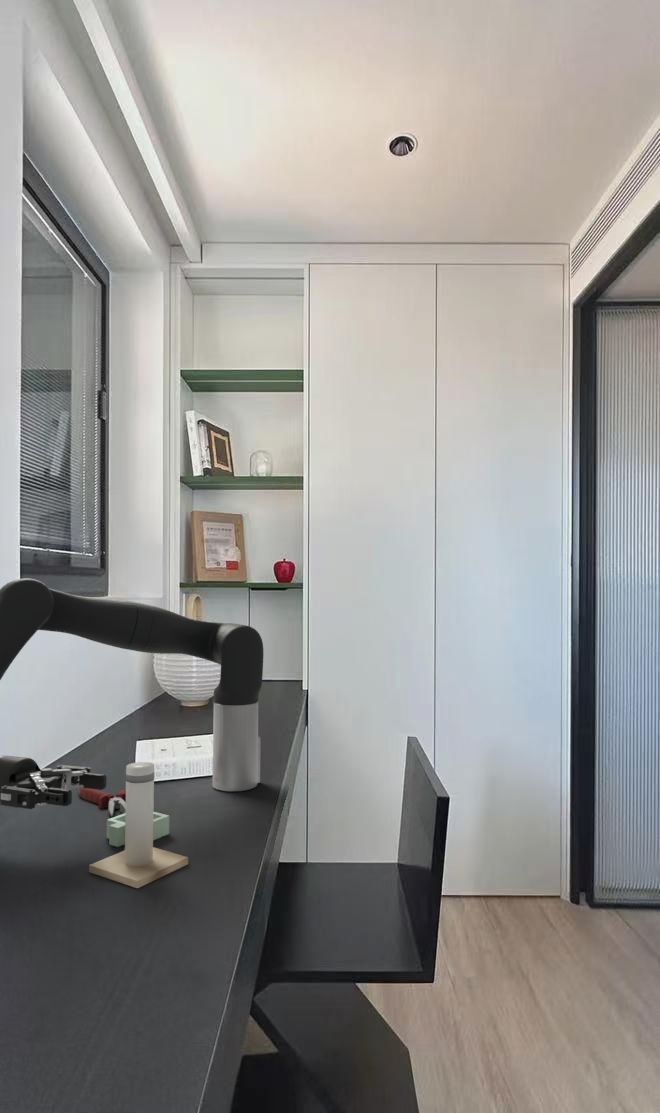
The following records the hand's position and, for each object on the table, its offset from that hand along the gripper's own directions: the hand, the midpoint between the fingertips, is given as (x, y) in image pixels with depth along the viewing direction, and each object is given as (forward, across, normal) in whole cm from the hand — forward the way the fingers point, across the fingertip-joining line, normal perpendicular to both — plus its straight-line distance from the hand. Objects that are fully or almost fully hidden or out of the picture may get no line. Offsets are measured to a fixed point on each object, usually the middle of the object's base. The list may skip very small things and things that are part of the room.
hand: (88, 789), depth 108 cm
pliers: (-14, +25, +11) cm, 31 cm away
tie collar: (+2, +11, +11) cm, 16 cm away
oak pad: (+9, 0, +11) cm, 14 cm away
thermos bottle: (+9, 0, +10) cm, 13 cm away
